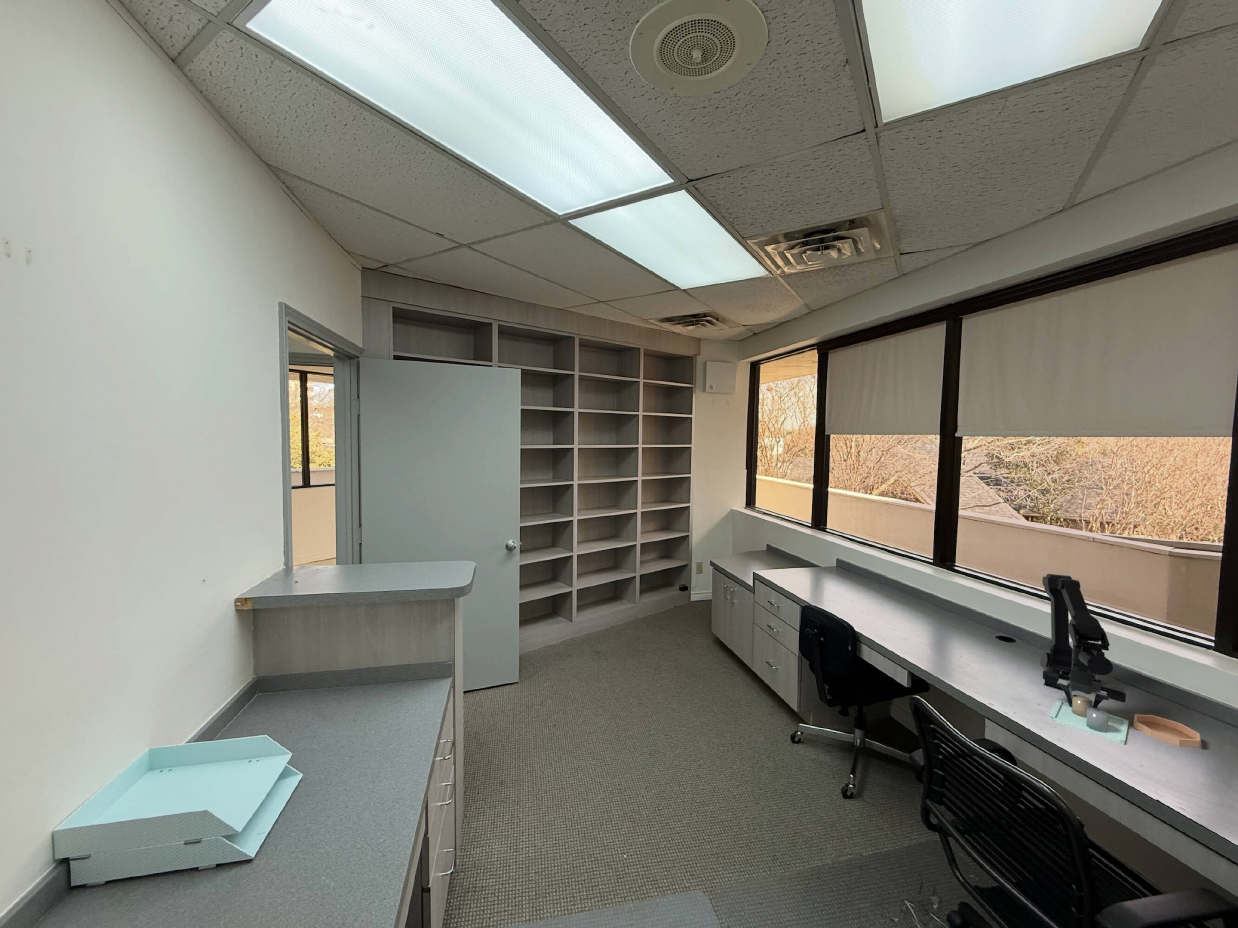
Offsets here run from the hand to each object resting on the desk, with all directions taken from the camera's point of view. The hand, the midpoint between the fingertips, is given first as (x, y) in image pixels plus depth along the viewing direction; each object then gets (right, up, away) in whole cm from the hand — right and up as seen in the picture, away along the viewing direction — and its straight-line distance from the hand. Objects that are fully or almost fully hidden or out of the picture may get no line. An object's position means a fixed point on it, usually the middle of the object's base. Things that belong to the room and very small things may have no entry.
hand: (1081, 710), depth 152 cm
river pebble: (0, -1, 0) cm, 1 cm away
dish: (+16, -3, -10) cm, 18 cm away
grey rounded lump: (-3, -2, -8) cm, 8 cm away
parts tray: (-1, -2, -4) cm, 4 cm away
